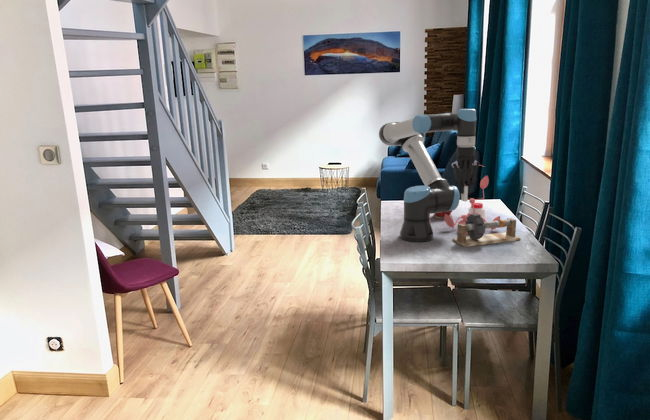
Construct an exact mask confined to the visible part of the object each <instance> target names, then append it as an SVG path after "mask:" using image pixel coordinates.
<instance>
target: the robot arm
mask: <svg viewBox="0 0 650 420" xmlns="http://www.w3.org/2000/svg"><path fill="white" fill-rule="evenodd" d="M477 119H478V118H477V110H476V109H475V108H459V109H458V110H457V112H456V113H455V112H443V113H433V114H429V113H428V114H424V113H423V114H419V115H415V116H414V118H410V119H406V120H403V121H395V122H391V121H390V122H388V123H385V124H383V125H382V126H381V127H380V129H379V131H378V137H379V140H380V141H381V143H383V145H387V146H389V147H391V146H392V147H395V146H400V147H401V149H402V150H403V151H404V152H405V153H408V155H409V158H410V159H411V161H412V163H413V165H414V167H415V169H416V171H417V173H418V176H419V177H420V179H421V181H422V183H423V184H424V185H415V186H410V187H408V188H407V189H405V191H404V194H403V223H402V226H401V229H400V232H399V238H400V239H401V240H402V241H405V242H412V243H413V242H414V243H424V242H428V241H432V240H433V239H434V232H433V228H432V224H431V221H430V218H431V217H430V215H432V214H433V215H434V213H440V212H449V211H452V212H453V211H455V210H456V209H457V208H458V206H459V205H460V201H462V202H468V200H467V199H469V198H468V197H469V196H468V194H470V187H471V186H472V185H473V184H475V180H476V176H477V173H478V172H477V171H478V168H479V166H480V165H481V162H480V161H477V160H476V157H475V155H476V132H477V131H476V130H477V129H476V128H477ZM449 131H452V132H453V131H454V132H456V135H457V136H456V146H457V147H456V159H455V161H454V162H452V163H450V167H451V169H452V171H453V176H454V182H455V184H456V185H457V186H459V189H458V187H457V186H455V185H450V184H449V182H448V180H447V179H446V178H443V177H442V176H441V174H440V172H439V170H438V168H437V167H436V164H435V163H434V161H433V159H432V157H431V155H430V154H429V152H428V150H427V148H426V147H425V140H426V133H434V132H449ZM458 167H459V168H458Z"/></svg>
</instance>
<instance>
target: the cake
mask: <svg viewBox="0 0 650 420" xmlns="http://www.w3.org/2000/svg"><path fill="white" fill-rule="evenodd" d="M452 213H453V211H449V212H440V213H433V215H432V217H433V218H435V219H441V220H443V219H444V216H445V214H446V215H448V216H450V217H451V218H452V217H453V215H452ZM444 220H445V219H444Z"/></svg>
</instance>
